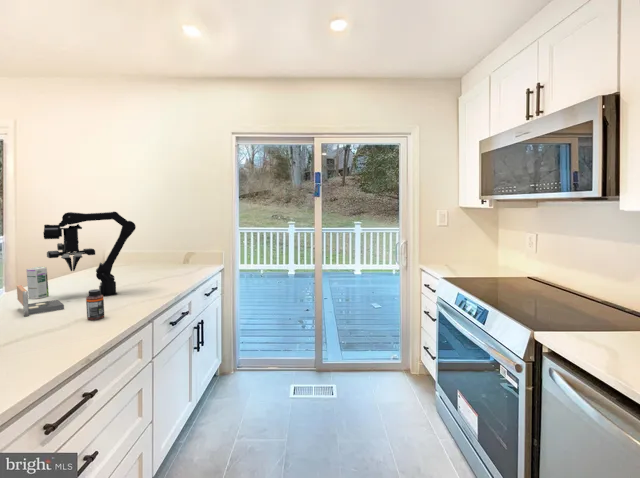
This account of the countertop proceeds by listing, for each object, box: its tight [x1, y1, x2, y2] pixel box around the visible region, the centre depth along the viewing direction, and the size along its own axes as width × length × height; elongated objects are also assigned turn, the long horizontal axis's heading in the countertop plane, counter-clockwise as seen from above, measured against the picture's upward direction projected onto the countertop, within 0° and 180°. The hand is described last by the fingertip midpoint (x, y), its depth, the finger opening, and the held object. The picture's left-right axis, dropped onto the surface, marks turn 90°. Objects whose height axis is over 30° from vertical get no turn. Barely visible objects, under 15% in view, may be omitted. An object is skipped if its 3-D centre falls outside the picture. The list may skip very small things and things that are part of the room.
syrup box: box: [25, 266, 50, 300], centre depth 179 cm, size 6×6×14 cm
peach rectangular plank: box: [16, 284, 28, 306], centre depth 155 cm, size 2×14×6 cm, turn 46°
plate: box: [22, 290, 65, 317], centre depth 158 cm, size 14×14×10 cm
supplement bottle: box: [85, 288, 105, 321], centre depth 147 cm, size 6×6×11 cm
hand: (72, 270), depth 179 cm, fingers closed
